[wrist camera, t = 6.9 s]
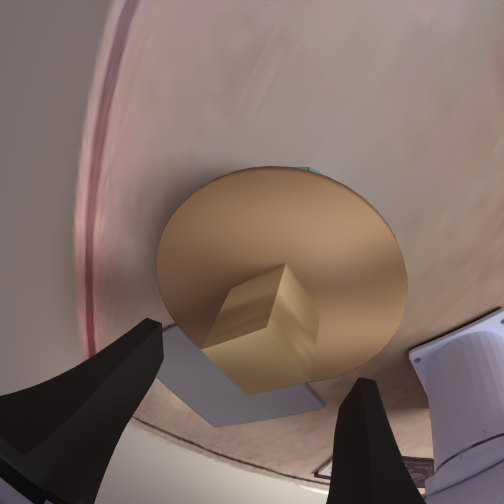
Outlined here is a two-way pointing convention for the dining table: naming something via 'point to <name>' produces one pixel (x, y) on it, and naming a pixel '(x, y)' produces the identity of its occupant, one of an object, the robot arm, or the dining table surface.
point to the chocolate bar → (416, 466)
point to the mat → (223, 387)
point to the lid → (281, 277)
